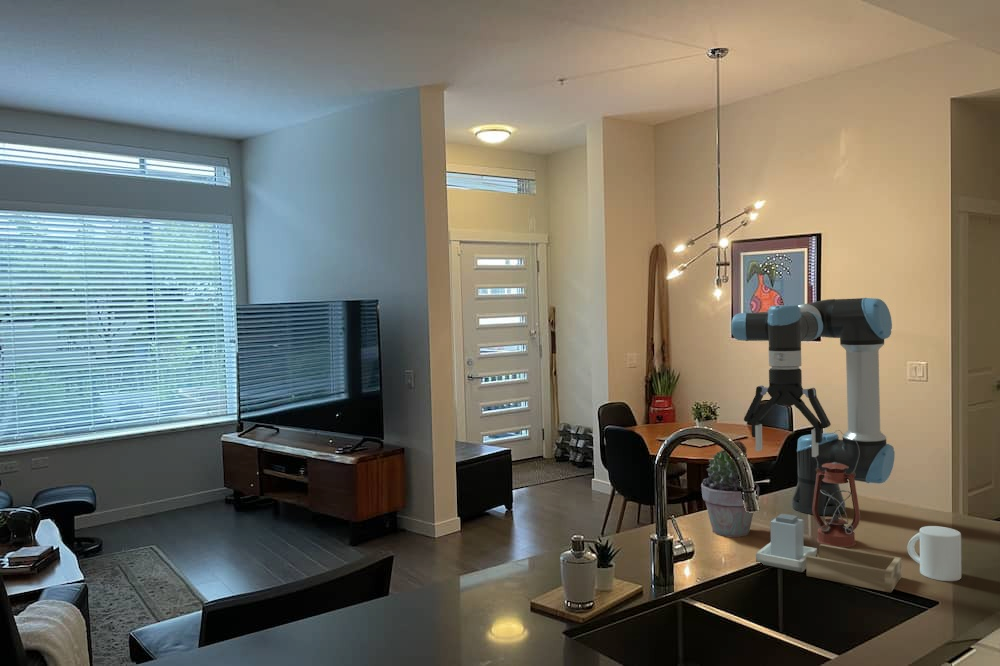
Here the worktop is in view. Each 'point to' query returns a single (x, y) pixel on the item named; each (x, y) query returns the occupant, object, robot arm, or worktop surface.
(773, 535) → the tall pale grey block
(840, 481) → the lantern
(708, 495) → the potted plant
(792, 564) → the tray
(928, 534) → the mug
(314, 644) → the worktop surface
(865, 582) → the bay
